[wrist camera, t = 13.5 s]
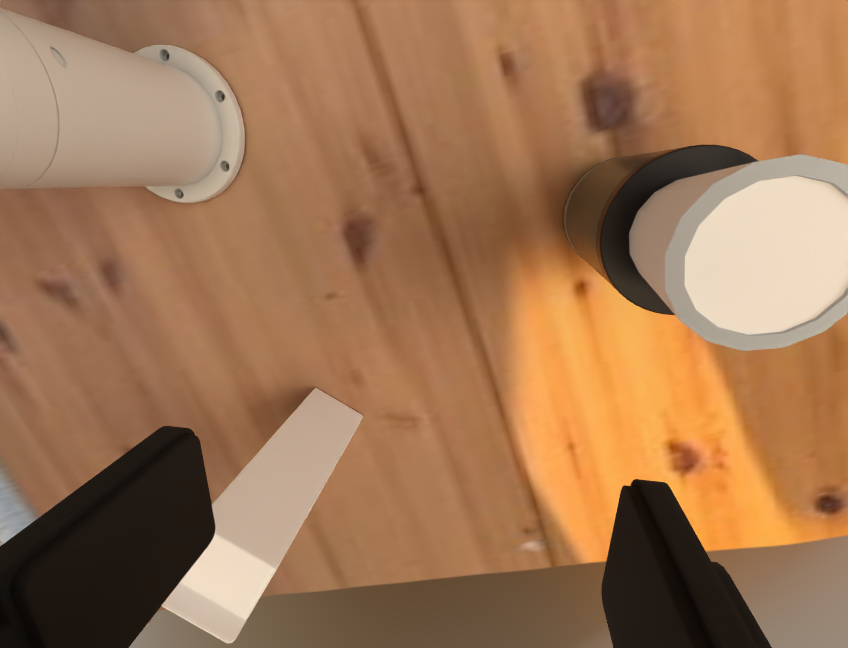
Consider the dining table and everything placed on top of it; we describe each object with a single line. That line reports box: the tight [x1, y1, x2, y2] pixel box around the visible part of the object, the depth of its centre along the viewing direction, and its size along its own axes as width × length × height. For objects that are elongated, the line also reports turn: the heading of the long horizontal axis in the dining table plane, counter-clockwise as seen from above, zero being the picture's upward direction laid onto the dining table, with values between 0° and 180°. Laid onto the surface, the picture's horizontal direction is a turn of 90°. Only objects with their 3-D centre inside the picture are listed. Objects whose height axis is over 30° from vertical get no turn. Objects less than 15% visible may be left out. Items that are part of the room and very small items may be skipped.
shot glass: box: [629, 154, 848, 351], centre depth 18 cm, size 7×7×7 cm
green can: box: [563, 145, 758, 315], centre depth 28 cm, size 8×8×14 cm
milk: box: [161, 388, 363, 643], centre depth 35 cm, size 6×6×22 cm
